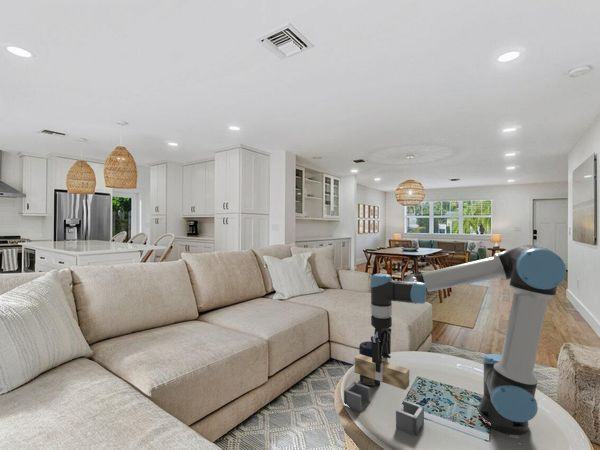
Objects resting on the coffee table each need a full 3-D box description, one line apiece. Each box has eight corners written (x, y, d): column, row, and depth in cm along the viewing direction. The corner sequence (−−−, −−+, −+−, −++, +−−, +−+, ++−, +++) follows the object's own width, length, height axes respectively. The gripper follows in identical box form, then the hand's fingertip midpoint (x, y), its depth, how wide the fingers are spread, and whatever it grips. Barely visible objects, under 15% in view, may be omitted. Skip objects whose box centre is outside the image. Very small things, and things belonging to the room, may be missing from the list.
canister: (381, 388, 134) (381, 347, 134) (359, 386, 136) (359, 345, 135) (380, 377, 143) (380, 339, 143) (359, 375, 145) (359, 337, 145)
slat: (409, 385, 111) (409, 368, 111) (405, 390, 108) (405, 373, 108) (359, 368, 124) (359, 353, 124) (354, 372, 120) (354, 357, 120)
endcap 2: (423, 423, 110) (423, 406, 110) (416, 436, 104) (416, 418, 104) (404, 415, 115) (404, 399, 115) (396, 427, 108) (395, 410, 108)
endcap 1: (344, 405, 121) (343, 390, 121) (354, 396, 128) (354, 382, 128) (360, 412, 117) (359, 396, 117) (369, 402, 123) (369, 387, 123)
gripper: (381, 308, 125) (381, 366, 125) (361, 319, 111) (362, 383, 111) (399, 311, 120) (399, 371, 120) (381, 323, 106) (381, 390, 107)
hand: (381, 377), depth 116 cm, fingers closed on slat, 4 cm apart
